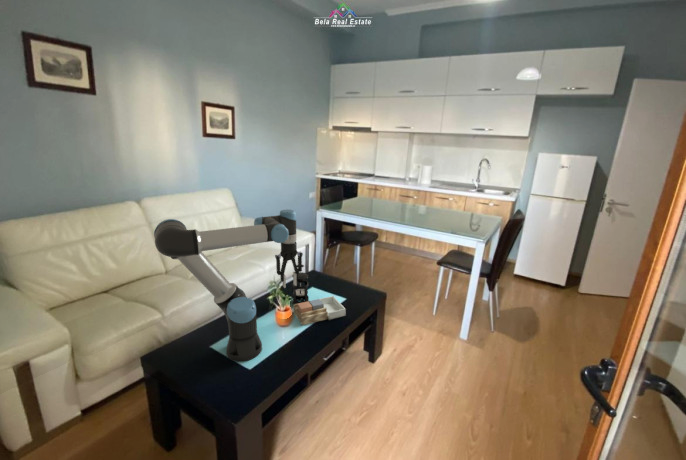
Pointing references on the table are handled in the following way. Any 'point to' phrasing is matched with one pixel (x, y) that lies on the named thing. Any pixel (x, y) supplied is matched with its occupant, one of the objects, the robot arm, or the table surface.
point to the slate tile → (316, 304)
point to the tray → (333, 307)
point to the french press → (300, 289)
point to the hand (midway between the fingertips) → (289, 285)
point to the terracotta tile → (304, 307)
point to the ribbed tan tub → (310, 315)
